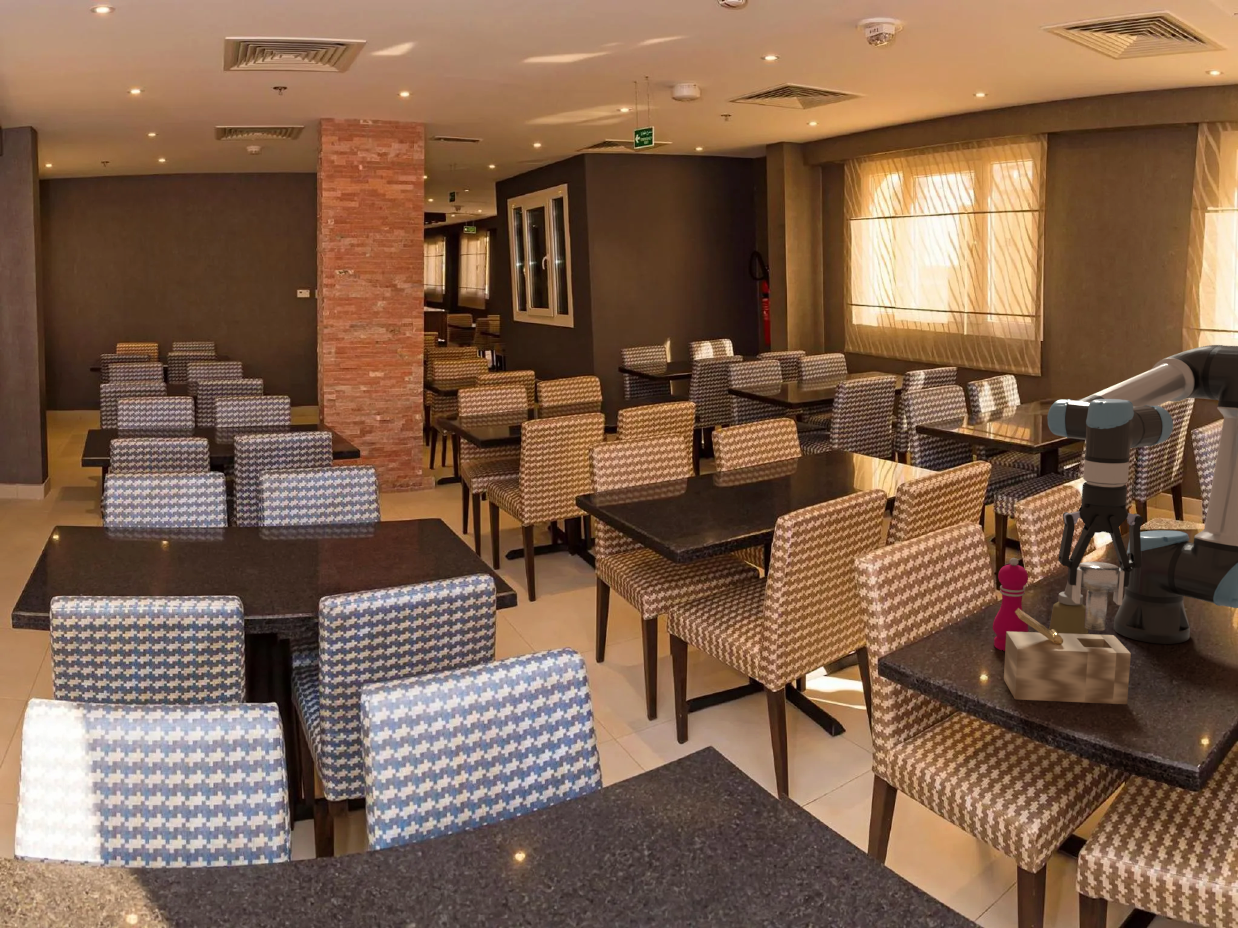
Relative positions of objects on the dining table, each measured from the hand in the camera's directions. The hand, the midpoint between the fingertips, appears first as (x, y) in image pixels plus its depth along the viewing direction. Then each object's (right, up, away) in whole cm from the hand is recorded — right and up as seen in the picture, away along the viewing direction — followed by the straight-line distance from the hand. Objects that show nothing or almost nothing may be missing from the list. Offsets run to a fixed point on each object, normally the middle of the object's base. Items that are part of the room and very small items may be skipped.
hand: (1096, 601), depth 193 cm
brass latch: (-10, -6, +3) cm, 12 cm away
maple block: (-5, -18, +4) cm, 19 cm away
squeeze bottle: (+3, -15, +20) cm, 25 cm away
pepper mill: (-6, -14, +28) cm, 32 cm away
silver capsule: (0, -5, +1) cm, 5 cm away
